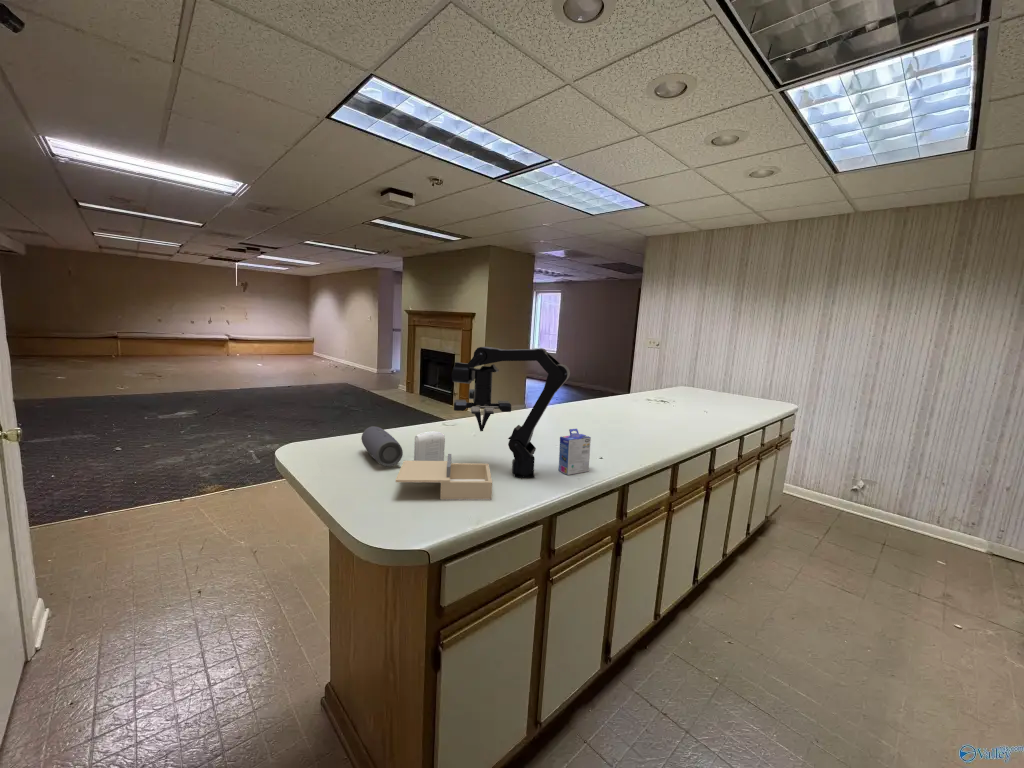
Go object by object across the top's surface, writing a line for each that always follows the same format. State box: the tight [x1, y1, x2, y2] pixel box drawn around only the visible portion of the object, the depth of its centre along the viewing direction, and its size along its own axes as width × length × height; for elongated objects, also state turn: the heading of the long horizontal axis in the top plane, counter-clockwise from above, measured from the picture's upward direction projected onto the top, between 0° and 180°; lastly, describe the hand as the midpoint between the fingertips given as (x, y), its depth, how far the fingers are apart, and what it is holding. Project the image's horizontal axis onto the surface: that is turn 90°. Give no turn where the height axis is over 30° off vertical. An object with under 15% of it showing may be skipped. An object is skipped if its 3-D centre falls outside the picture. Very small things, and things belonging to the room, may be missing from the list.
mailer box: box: [440, 462, 493, 501], centre depth 122 cm, size 14×16×5 cm
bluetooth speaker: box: [360, 425, 404, 467], centre depth 143 cm, size 23×9×10 cm, turn 32°
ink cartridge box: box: [558, 428, 592, 476], centre depth 141 cm, size 10×6×14 cm, turn 122°
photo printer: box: [413, 430, 446, 461], centre depth 137 cm, size 10×4×12 cm, turn 123°
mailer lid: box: [395, 453, 452, 483], centre depth 120 cm, size 14×16×4 cm
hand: (481, 431), depth 138 cm, fingers closed
